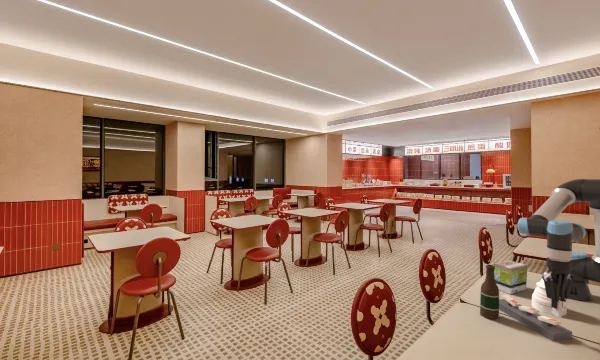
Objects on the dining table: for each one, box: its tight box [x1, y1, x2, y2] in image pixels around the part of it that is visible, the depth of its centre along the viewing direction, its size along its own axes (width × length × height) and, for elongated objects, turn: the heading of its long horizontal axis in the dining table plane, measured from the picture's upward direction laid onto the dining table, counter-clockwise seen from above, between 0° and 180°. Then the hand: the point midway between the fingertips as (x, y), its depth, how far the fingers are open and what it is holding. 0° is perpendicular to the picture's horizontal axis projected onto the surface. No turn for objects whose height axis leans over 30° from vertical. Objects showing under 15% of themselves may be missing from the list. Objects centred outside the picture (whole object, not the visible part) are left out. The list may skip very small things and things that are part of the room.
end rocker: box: [538, 315, 562, 325], centre depth 118 cm, size 7×3×1 cm, turn 9°
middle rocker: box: [518, 305, 540, 314], centre depth 127 cm, size 7×3×1 cm, turn 9°
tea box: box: [493, 259, 528, 295], centre depth 160 cm, size 15×10×15 cm
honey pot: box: [531, 271, 568, 317], centre depth 137 cm, size 13×13×18 cm
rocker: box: [501, 293, 521, 307], centre depth 136 cm, size 7×3×1 cm, turn 9°
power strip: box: [499, 298, 573, 342], centre depth 127 cm, size 29×9×4 cm, turn 9°
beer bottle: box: [479, 264, 500, 321], centre depth 131 cm, size 8×8×24 cm
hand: (556, 315), depth 115 cm, fingers closed
